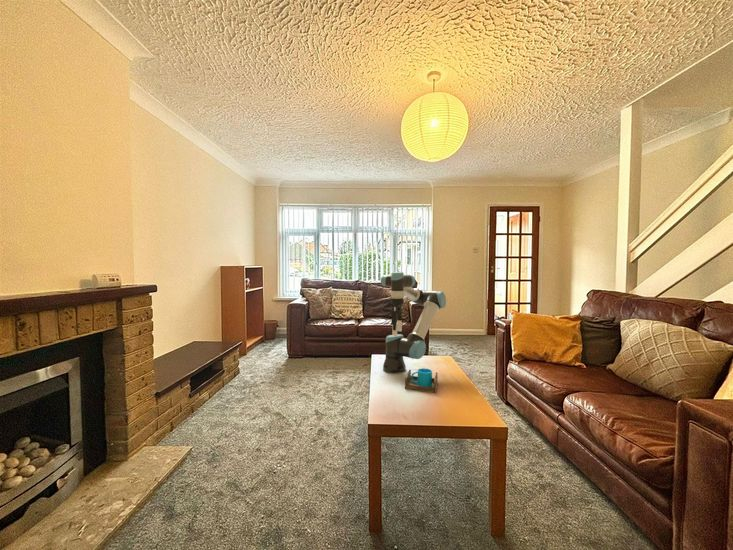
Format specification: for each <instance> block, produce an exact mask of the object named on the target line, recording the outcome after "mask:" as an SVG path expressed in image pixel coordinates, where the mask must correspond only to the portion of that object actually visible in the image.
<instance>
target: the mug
mask: <svg viewBox="0 0 733 550" xmlns="http://www.w3.org/2000/svg"><path fill="white" fill-rule="evenodd" d="M415 374H417V377H418V382H415V381H414V380H413V376H415ZM432 378H433V370H432V369H429V368H419V369H417V371H414V372H413V373H411V380H412V381H413V382H414V383H416V384H418V386H423V387H431V386H432Z"/></svg>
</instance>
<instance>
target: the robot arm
mask: <svg viewBox="0 0 733 550" xmlns="http://www.w3.org/2000/svg"><path fill="white" fill-rule="evenodd" d="M380 284H381V286H383V287H389V288H390V292H389V293H390V297H391V299H390V305H393V307H392V313H391V314H392V315H391V322H390V325H391V327H392V332H391V333H392V334H389V335H386V337H385V359H384V362H383V365H382V369H383V371H384V372H386V373H390V374H401V373H405V372H406V370H407V369H406V368H407V366H406V363H405V360H404V357H406V358H409V359H413V360H414V359H415V360H419V359H420V360H421V359H422V358H423V357H424V355H425V353H426V349H427V345H426V341H425V338H426V335H427V334H428V332H429V328H430V326H431V325H432V322H433V320H434V318H435V316H436V313H439V312H440V310H441V309H444V308H445V307H446V304H447V298H446V294H445V293H444V292H443V291H440V290H437V291H436V290H424V289H423V290H420V289H417V288H413V286H415V285H416V278H415V277H414V276H413V274H412V275H410V274H404V272H402V271H392V272H391V274H383V275H382V276H381V277H380ZM404 297H406V298H408V300H409V301H410V302H413V303H415V304H416V305H419V306H422V307H423V309H422V312H421V313H420V316H419V318H418V320H417V322H416V324H415V326H414V328H413V330H412V332H411V333H409V334H408V335H407V337H404V335H403V334H401V333H400V334H399V333H398V332H402V330H403V326H402V325H403V322H402V321H404V318H403V311H402V310H403V309H402V305H404V300H405V299H404Z"/></svg>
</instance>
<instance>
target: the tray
mask: <svg viewBox="0 0 733 550" xmlns="http://www.w3.org/2000/svg"><path fill="white" fill-rule="evenodd" d="M411 375H412V370H411V369H409V370H408V372H407V373H406V376H405V378H404V389H405V390H409V391H410V390H411V391H421V392H428V393H436V391H437V385H438V372H435V375H434V377H432V386H431V387H423V386H418V384H416V383H414V382H413V381H412V380H411ZM413 380H414V381H415V382H418V376H415V375H413Z"/></svg>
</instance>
